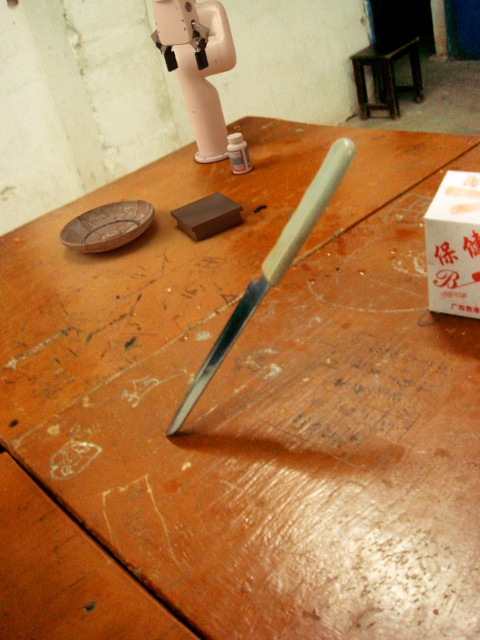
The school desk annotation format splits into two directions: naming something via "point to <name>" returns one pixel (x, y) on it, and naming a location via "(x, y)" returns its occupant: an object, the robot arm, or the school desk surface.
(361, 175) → the school desk surface
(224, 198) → the platform
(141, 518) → the school desk surface
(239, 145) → the pill bottle
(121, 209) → the ceramic bowl
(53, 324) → the school desk surface
